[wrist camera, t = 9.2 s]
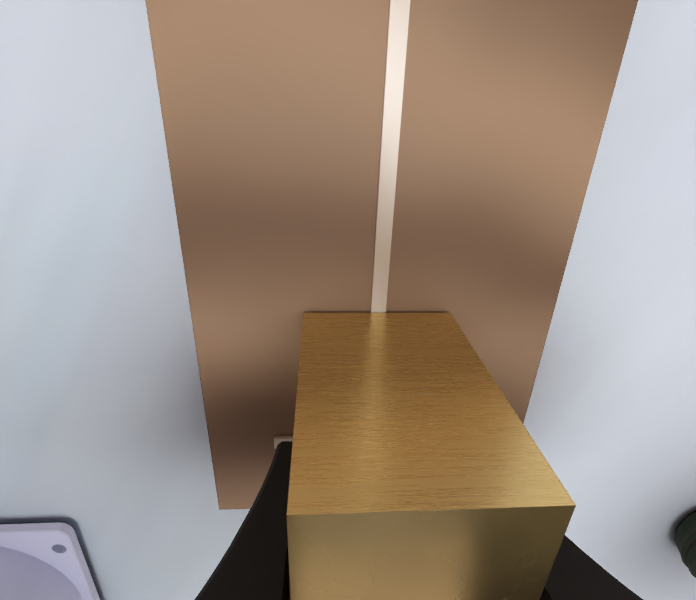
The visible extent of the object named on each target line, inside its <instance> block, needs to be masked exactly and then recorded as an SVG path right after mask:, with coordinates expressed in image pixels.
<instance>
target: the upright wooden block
mask: <svg viewBox="0 0 696 600" xmlns="http://www.w3.org/2000/svg"><path fill="white" fill-rule="evenodd" d="M575 506H576V505H575V503H574V502H573V500H572V499H571V497H570V496H569V494H568V493H567V491H566V490H565V488H564V486H563V485H562V483H561V482H560V480H559V479H558V477H557V476H556V474H555V473H554V471H553V470H552V468H551V467H550V465H549V463H548V462H547V460H546V459H545V457H544V456H543V454H542V453H541V451H540V450H539V448H538V447H537V445H536V444H535V442H534V440H533V439H532V437H531V436H530V434H529V433H528V431H527V430H526V428H525V427H524V425H523V424H522V422H521V421H520V419H519V417H518V416H517V414H516V413H515V411H514V410H513V408H512V407H511V405H510V404H509V402H508V401H507V399H506V398H505V396H504V394H503V393H502V391H501V390H500V388H499V387H498V385H497V384H496V382H495V381H494V379H493V378H492V376H491V375H490V373H489V371H488V370H487V368H486V367H485V365H484V364H483V362H482V361H481V359H480V358H479V356H478V355H477V353H476V352H475V350H474V348H473V347H472V345H471V344H470V342H469V341H468V339H467V338H466V336H465V335H464V333H463V332H462V330H461V329H460V327H459V325H458V324H457V322H456V321H455V319H454V318H453V316H452V315H451V313H303V323H302V335H301V347H300V359H299V371H298V384H297V396H296V408H295V420H294V432H293V444H292V456H291V468H290V481H289V493H288V505H287V534H288V555H289V576H290V598H291V600H540V597H541V595H542V592H543V589H544V587H545V584H546V582H547V579H548V576H549V574H550V571H551V569H552V566H553V563H554V561H555V558H556V555H557V553H558V550H559V548H560V545H561V542H562V540H563V537H564V535H565V532H566V529H567V527H568V524H569V522H570V519H571V516H572V514H573V511H574V508H575Z"/></svg>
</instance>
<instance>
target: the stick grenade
mask: <svg viewBox="0 0 696 600" xmlns="http://www.w3.org/2000/svg"><path fill="white" fill-rule="evenodd" d="M675 541H676V545H677V547H678V549H679V552H680V554H681V558H682V561H683V562H684V564H685V565H686V566H687V567H688V568H689V571H690V572H691V574H692V575H693V576H694V577H696V512H694V513H692V514H691V515H690V516H688V517H687V518H686V519H684V520H683V521H682V523H681V524H680V525H679V527H678V528H677V531H676V535H675Z"/></svg>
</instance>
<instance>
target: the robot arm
mask: <svg viewBox="0 0 696 600" xmlns="http://www.w3.org/2000/svg"><path fill="white" fill-rule="evenodd" d="M292 444H293V441H281V442H280V443H279V444H278V445H277V448H276V452H275V455H274V457H273V460H272V463H271V466H270V468H269V471H268V473H267V475H266V477H265V480H264V482H263V484H262V486H261V488H260V491H259V493H258V495H257V497H256V499H255V501H254V503H253V505H252V507H251V509H250V511H249V513H248V515H247V516H246V518H245V520H244V522H243V524H242V525H241V527H240V529H239V531H238V532H237V534H236V536H235V538H234V540H233V541H232V543H231V545H230V546H229V548H228V550H227V551H226V553H225V555H224V556H223V558H222V560H221V561H220V563H219V564H218V566H217V567H216V569H215V571H214V572H213V574H212V575H211V577H210V578H209V580H208V581H207V583H206V584H205V586H204V587H203V589H202V590H201V592H200V593H199V594H198V596H197V597H196V599H195V600H291V598H290V576H289V555H288V534H287V505H288V493H289V481H290V468H291V456H292ZM0 600H100V598H99V595H98V593H97V590H96V587H95V585H94V582H93V579H92V577H91V574H90V571H89V568H88V566H87V563H86V560H85V558H84V555H83V552H82V550H81V547H80V544H79V542H78V539H77V536H76V534H75V531H74V529H73V528H72V527H71V526H70V525H68V524H66V523H60V522H55V523H27V524H0ZM540 600H643V599H641V598H640V597H639V596H637V595H636V594H635V593H633V592H632V591H631V590H629V589H628V588H627V587H626V586H624V585H623V584H622V583H620V582H619V581H618V580H617V579H615V578H614V577H613V576H612V575H610V574H609V573H608V572H607V571H606V570H604V569H603V568H602V567H601V566H600V565H599V564H597V563H596V562H595V561H594V560H593V559H591V558H590V557H589V556H588V555H587V554H586V553H584V552H583V551H582V550H581V549H580V548H579V547H577V546H576V545H575V544H574V543H573V542H572V541H571V540H570V539H568V538H567V537H566V536H565V535H564V537H563V540H562V542H561V545H560V548H559V550H558V553H557V555H556V558H555V561H554V563H553V566H552V569H551V571H550V574H549V576H548V579H547V582H546V584H545V587H544V589H543V592H542V595H541V597H540Z"/></svg>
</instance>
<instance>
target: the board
mask: <svg viewBox="0 0 696 600" xmlns="http://www.w3.org/2000/svg"><path fill="white" fill-rule="evenodd" d="M637 2H638V0H146V7H147V14H148V21H149V28H150V35H151V42H152V49H153V55H154V62H155V69H156V76H157V83H158V90H159V97H160V104H161V111H162V118H163V124H164V131H165V138H166V145H167V152H168V159H169V166H170V173H171V180H172V186H173V193H174V200H175V207H176V214H177V221H178V228H179V235H180V242H181V249H182V255H183V262H184V269H185V276H186V283H187V290H188V297H189V304H190V311H191V318H192V324H193V331H194V338H195V345H196V352H197V359H198V366H199V373H200V380H201V387H202V393H203V400H204V407H205V414H206V421H207V428H208V435H209V442H210V449H211V455H212V462H213V469H214V476H215V483H216V490H217V497H218V504H219V510H220V509H250V508H251V507H252V505H253V503H254V501H255V499H256V497H257V495H258V493H259V491H260V488H261V486H262V484H263V482H264V480H265V477H266V475H267V473H268V471H269V468H270V466H271V463H272V460H273V457H274V455H275V452H276V448H277V445H278V444H279V443H280V442H281V441H293V432H294V420H295V408H296V396H297V384H298V371H299V359H300V347H301V335H302V323H303V313H451V315H452V316H453V318H454V319H455V321H456V322H457V324H458V325H459V327H460V329H461V330H462V332H463V333H464V335H465V336H466V338H467V339H468V341H469V342H470V344H471V345H472V347H473V348H474V350H475V352H476V353H477V355H478V356H479V358H480V359H481V361H482V362H483V364H484V365H485V367H486V368H487V370H488V371H489V373H490V375H491V376H492V378H493V379H494V381H495V382H496V384H497V385H498V387H499V388H500V390H501V391H502V393H503V394H504V396H505V398H506V399H507V401H508V402H509V404H510V405H511V407H512V408H513V410H514V411H515V413H516V414H517V416H518V417H519V419H520V421H521V422H522V424H523V422H524V418H525V415H526V411H527V407H528V404H529V400H530V396H531V393H532V389H533V385H534V381H535V378H536V374H537V370H538V367H539V363H540V359H541V356H542V352H543V348H544V345H545V341H546V337H547V334H548V330H549V326H550V323H551V319H552V315H553V312H554V308H555V304H556V301H557V297H558V293H559V289H560V286H561V282H562V278H563V275H564V271H565V267H566V264H567V260H568V256H569V253H570V249H571V245H572V242H573V238H574V234H575V231H576V227H577V223H578V220H579V216H580V212H581V209H582V205H583V201H584V197H585V194H586V190H587V186H588V183H589V179H590V175H591V172H592V168H593V164H594V161H595V157H596V153H597V150H598V146H599V142H600V139H601V135H602V131H603V128H604V124H605V120H606V117H607V113H608V109H609V105H610V102H611V98H612V94H613V91H614V87H615V83H616V80H617V76H618V72H619V69H620V65H621V61H622V58H623V54H624V50H625V47H626V43H627V39H628V36H629V32H630V28H631V25H632V21H633V17H634V13H635V10H636V6H637Z"/></svg>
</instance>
